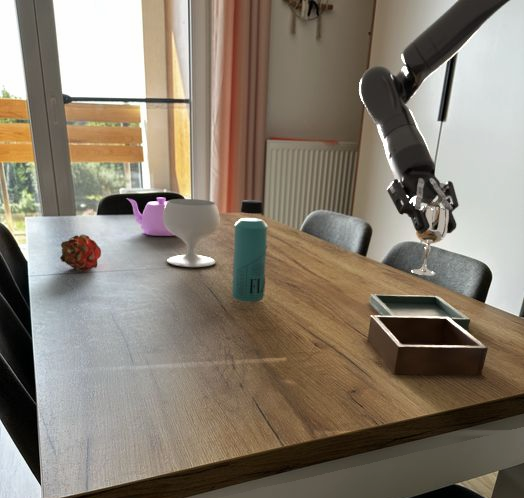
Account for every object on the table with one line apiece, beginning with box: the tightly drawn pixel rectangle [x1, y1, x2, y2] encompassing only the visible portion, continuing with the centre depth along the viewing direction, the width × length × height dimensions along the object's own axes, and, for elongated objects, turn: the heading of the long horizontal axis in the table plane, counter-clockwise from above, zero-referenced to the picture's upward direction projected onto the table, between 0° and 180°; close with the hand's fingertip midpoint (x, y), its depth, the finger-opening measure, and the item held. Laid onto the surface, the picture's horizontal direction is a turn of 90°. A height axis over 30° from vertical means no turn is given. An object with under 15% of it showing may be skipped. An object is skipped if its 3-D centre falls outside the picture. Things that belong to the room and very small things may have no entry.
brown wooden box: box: [367, 314, 489, 376], centre depth 81 cm, size 14×14×4 cm
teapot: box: [125, 196, 175, 237], centre depth 162 cm, size 13×20×11 cm
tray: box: [369, 293, 471, 331], centre depth 101 cm, size 15×15×2 cm
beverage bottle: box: [231, 199, 269, 303], centre depth 98 cm, size 6×7×20 cm
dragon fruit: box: [59, 234, 102, 272], centre depth 118 cm, size 8×8×12 cm
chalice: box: [163, 198, 221, 268], centre depth 128 cm, size 14×14×15 cm
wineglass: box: [411, 205, 449, 277], centre depth 96 cm, size 6×6×12 cm
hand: (437, 230), depth 93 cm, fingers closed on wineglass, 5 cm apart
